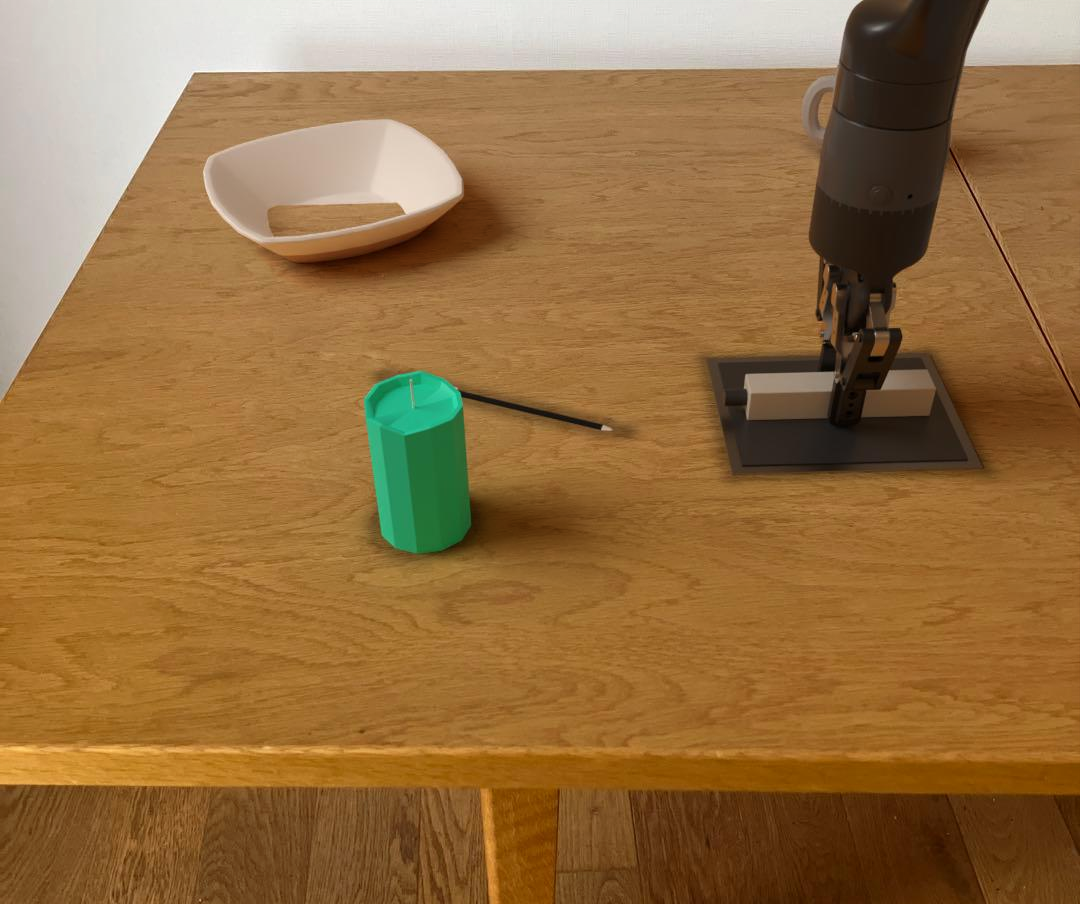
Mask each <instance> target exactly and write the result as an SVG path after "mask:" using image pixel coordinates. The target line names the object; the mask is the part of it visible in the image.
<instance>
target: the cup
mask: <svg viewBox="0 0 1080 904" xmlns="http://www.w3.org/2000/svg"><path fill="white" fill-rule="evenodd" d="M838 65H839V63H838V64H837V65H836V72H835V75H833V74H831V75H830V74H828V75H823V76H820V77H818V78H817V79H815V80H814V81H813V82H811V84H810V85H809V87H808V88H807V90H806V91H805V93H804V97H803V100H802V103H801V111H800V114H801V124H802V127H803V130H804V133H805V134H806V135H807V136H808V137H809V139H810V140H811V141H813V142H815V143H817V144H819V145H822V143H823V137H824V133H825V129H826V127H823V126H822V125H820V122H819V108H820V103H821V101H822V98H823V96H824V95H825V94H826V93H832V98H831V106H830V112H829V114H830V113H831V109H832V104H833V97H834V91H835V84H836V78H837V71H838Z"/></svg>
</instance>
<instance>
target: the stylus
mask: <svg viewBox="0 0 1080 904" xmlns="http://www.w3.org/2000/svg"><path fill="white" fill-rule="evenodd" d="M833 381H834V372H805V373H766V374H746V375H745V383H744V389H724V390H723V405H724V406H744V409H745V413H746V417H747V420H781V419H821V418H828V417H827V414H828V408H829V403H830V397H831V392H832V386H833ZM935 391H936V387H935V385H934V383H933V381H932V379H931V376H930V374H929V372H928V370H927V369H925V370H889V372H888V375H887V377H886V379H885V381H884V384H883V386H882V388H881V390H867V391H866V396H865V401H864V406H863V411H862V416H861V417H900V416H929V415H930V411H931V407H932V403H933V399H934V395H935Z"/></svg>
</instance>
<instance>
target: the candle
mask: <svg viewBox="0 0 1080 904" xmlns="http://www.w3.org/2000/svg"><path fill="white" fill-rule="evenodd" d="M455 387H456V386H454V385H453V384H451V382H450V381H448V380H447V379H446V378H444V377H442V376H441V377H440V376H437V375H435V374H432V373H430V372H427V371H424V370H417V371H412V372H408V373H402V374H396V375H393V376H391V377H389V378H386V379H384V380H381V381H379V382H377V383H375V384H374V385H373V386H372V388H371V389H370V390H369V392H368V393H367V394H366V395H365V397H364V398H363V405H364V417H365V424H366V432H367V438H368V446H369V452H370V461H371V466H372V467H371V468H372V474H373V483H374V489H375V498H376V503H377V510H378V519H379V525H380V533H381V536H382V538H384V539H385V540H386V541H387V542H388V543H389V544H390V545H391V546H393V547H394V549H396V550H401V551H404V552H405V551H406V552H409V553H413V554H417V555H418V554H419V555H420V554H426V553H435V552H442V551H444V550H446V549H448V548H450V547H452V546H454V545H455V544H458V543H460V542H461V541H463V539H464V537H465V536H466V534H467V532H468V531H469V530H470V528H471V526H472V514H471V513H472V512H471V503H470V502H471V500H470V485H469V471H468V459H467V456H468V455H467V443H466V428H465V427H466V426H465V415H464V404H463V399H462V398H463V397H461V393H460V392H459V391H460V390H459V389H458V390H459V391H458V390H457V389H456V388H455Z"/></svg>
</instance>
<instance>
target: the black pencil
mask: <svg viewBox="0 0 1080 904" xmlns="http://www.w3.org/2000/svg"><path fill="white" fill-rule="evenodd" d="M454 387H455V388H456V389H457V390H458V391H459V392H460V393H461V398H464V399H468V400H472V401H475V402H476V401H477V402H481V403H483V404H484V403H485V404H489V405H493V406H498V407H501V408H505V409H510V410H514V411H518V412H523V413H527V414H530V415H535V416H540V417H543V418H548V419H552V420H557V421H560V422H564V423H569V424H574V425H576V426H582V427H586V428H590V429H594V430H599V431H609V432H610V431H613V429H612V427H609V426H608V425H605V424H602V423H599V422H594V421H590V420H586V419H582V418H577V417H573V416H568V415H565V414H561V413H556V412H552V411H547V410H544V409H539V408H535V407H530V406H526V405H522V404H518V403H514V402H509V401H505V400H502V399H497V398H492V397H488V396H484V395H480V394H475V393H471V392H468V391H463V390H459V389H460V388H459V387H456V386H454Z"/></svg>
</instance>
